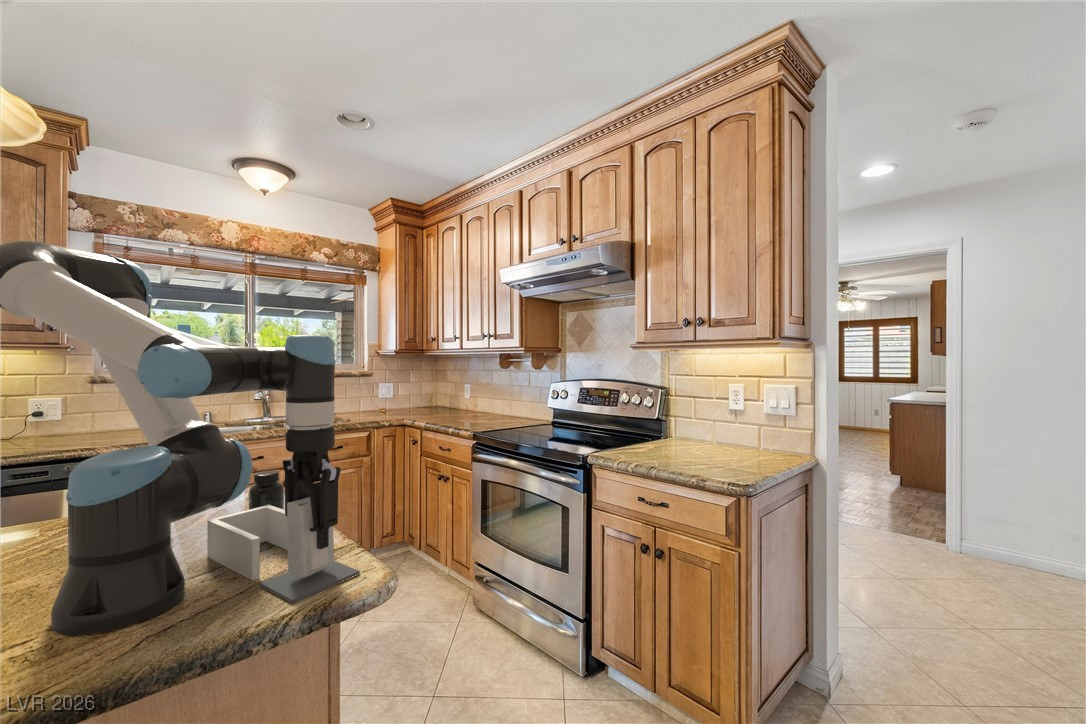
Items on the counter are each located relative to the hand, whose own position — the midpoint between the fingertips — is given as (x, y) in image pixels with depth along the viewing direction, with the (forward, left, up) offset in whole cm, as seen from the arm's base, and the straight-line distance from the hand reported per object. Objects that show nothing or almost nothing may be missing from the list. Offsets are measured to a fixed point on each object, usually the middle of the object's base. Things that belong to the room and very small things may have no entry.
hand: (310, 562), depth 82 cm
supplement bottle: (+9, +33, -3) cm, 34 cm away
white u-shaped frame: (0, +17, -3) cm, 17 cm away
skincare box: (0, 0, -1) cm, 2 cm away
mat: (0, 0, -3) cm, 3 cm away
